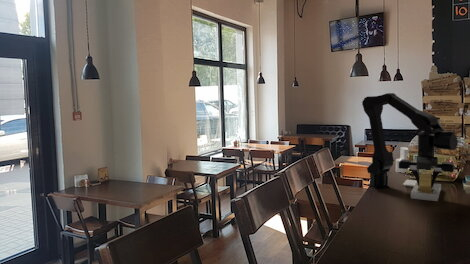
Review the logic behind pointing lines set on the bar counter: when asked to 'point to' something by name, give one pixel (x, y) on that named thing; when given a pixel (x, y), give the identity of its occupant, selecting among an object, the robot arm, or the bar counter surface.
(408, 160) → the robot arm
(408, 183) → the pad
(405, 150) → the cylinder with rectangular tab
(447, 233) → the bar counter surface
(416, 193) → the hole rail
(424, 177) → the square peg
